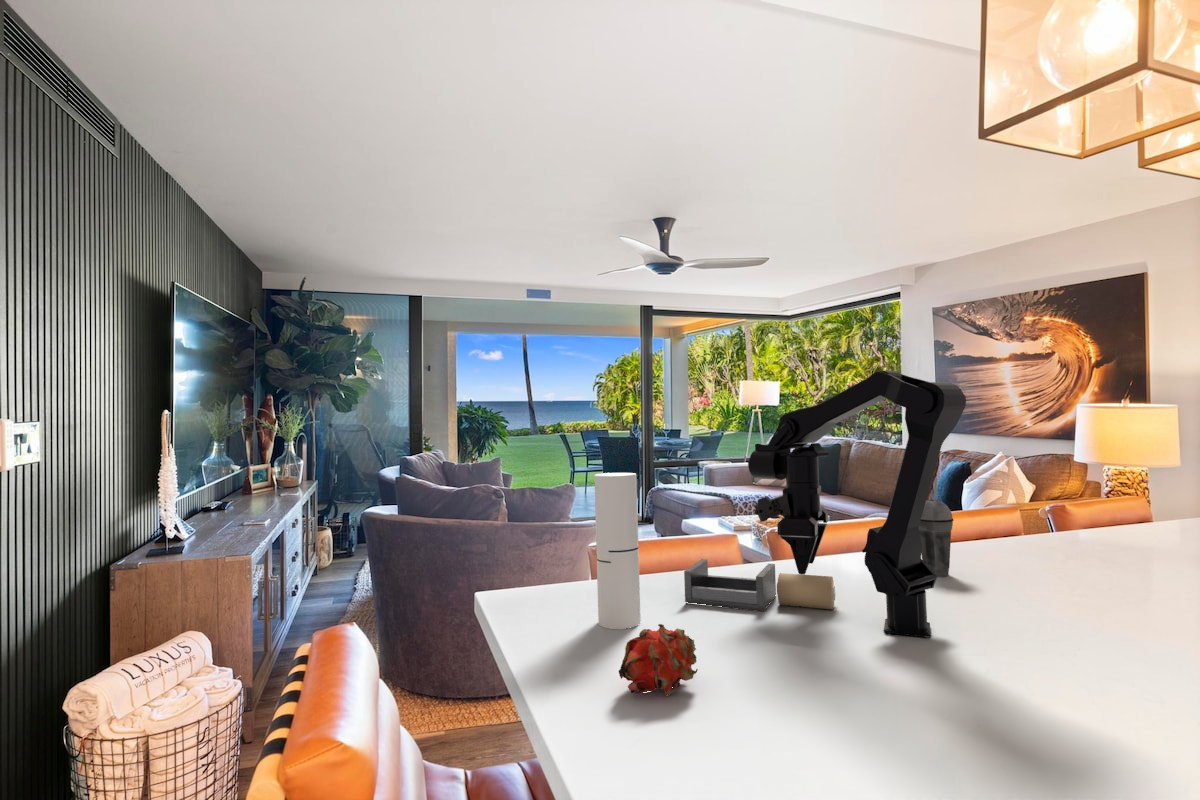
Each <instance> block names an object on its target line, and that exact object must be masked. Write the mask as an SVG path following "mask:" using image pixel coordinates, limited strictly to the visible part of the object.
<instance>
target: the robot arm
mask: <svg viewBox="0 0 1200 800" xmlns="http://www.w3.org/2000/svg"><path fill="white" fill-rule="evenodd" d="M966 398H967V397H966V395H965V394H964V392H963V390H962V389H961V388H960V387H959V386H958V385H957V384H954V383H952V382H942V381H941V382H939V381H938V382H937V381H934V382H932V381H928V380H923V379H920V378H917V377H912V376H909V375H905V374H904V373H900V372H899V371H896V370H883V369H882V370H877V371H875V372H873V373H872V374H871V375H870V376H868V377H867V378H865V379H863V380H861V381H859V382H857V383H855V384H854V385H852V386H849V387H847V388H846V389H845V390H843V391H840V392H838V393H836V394H835V395H833V396H831V397H830V398H828V399H826V400H824V401H822V402H820V403H818V404H815V405H812V406H807V407H803V408H799V409H795V410H791V411H788V412H786V413H784V414H782V415H781V416H780V418H779V422H778V426H777V428H775V429H776V430H775V431H774V434H772V436H771V439H770V440H769V442H768V443H763V442H762V443H755V445H754V450H753V451H752V452H751V454H750V456H749V459H748V462H747V466H748V470H749V473H750V475H751V476H752V477H753V478H754V479H757V480H758V479H761V480H762V479H763V480H775V481H778V480H779V481H783V480H785V482H786V483H785V487H784V488H783V489H782V494H781V495H779V496H776V497H773V498H770V497H769V496H767V495H766V496H765V497H762V498H758V499H757V504H756V505H754V509H755V511H754V514H755V515H756V516H757V517H758V519H759V521H760V523H764V522H766V521H768V519H772V518H775V517H778V516H780V515H782V517H783V518H781V519H780V521H779V522H777V525H776V527H777V530H776V531H777V535H778V536H779V538H780V539H782V540H784V541H785V542H786V543H787V544H788V545H789V546H790V549H791V552H792V555H793V559H794V562H795V566H796V568H797V572H798V573H797V574H802V575H806V573H807V570H808V567H809V564H813V563H814V562H815V558H816V556H817V554H818V551H819V548H820V544H821V543H822V539H823V536H824V534H825V531H826V529H827V527H828V522H829V511H828V510H827V508H825V507H824V506H821V499H820V498H821V497H820V493H821V492H822V485H820V475H819V474H820V473H819V471H820V469H819V457H829V455H830V453H829V451H828V450H826V449H825V448H824V447H822V445H821V444H820V443H819V442H818V441H819V440H821V438H823V437H824V436H826V435H827V434H828V433H830V431H831V430H832V429H833V427H834V426H835V425H837V424H838V423H840V422H842V421H844V420H846V419H847V418H848V419H849V418H850V417H851V416H854V415H855V414H857V413H860V412H862V411H864V410H865V409H867V408H870V407H871V406H874V405H876V404H878V403H880V402H881V401H883V400H885V399H887V400H889V401H890V402H892V403H893V404H896V405H898V406H901V407H903V408H904V409H905V412H904V413H905V414H904V415H905V416H904V421H905V425H906V428H907V429H906V430H907V435H908V439H907V441H906V442H907V443H906V446H905V450H904V453H903V457H902V460H901V465H900V469H899V471H898V475H897V479H896V483H895V486H894V490H893V494H892V497H891V501H890V506H889V509H888V513H887V516H886V520H885V522H884V523H883V525H882V526H877V527H873V528H872V527H871V528H869V529H868V530H867V531H868V532H867V535H866V536H867V537H866V542H865V543H866V544H865V546H864V547H863V548H862V550H861V552H862V554H863V553H864V554H865V555H864V560H863V561H864V566H865V567H866V568H867V570H868V572H869V574H870V576H871V578H872V581H873V583H874V586H875V589H876V592H878V593H882V594H884V595H885V602H886V618H885V619H884V626H883V633H884V634H885V633H886V634H891V635H892V634H893V635H903V636H904V635H905V636H915V637H923V638H931V636H932V635H931V623H930V622H928V614H927V613H928V612H927V610H928V609H927V591H926V590H929V589H933V588H934V587H935V585H936V582H937V578H938V577H937V576H936V575H935V574H934V572H933V571H932V570H931V569H930V568H929V567H928V566H927V565H926V564H925V562H924V561H923V560H922V554H921V551H922V543H921V538H920V534H919V524H920V521H921V517H922V514H923V510H924V506H925V503H926V501H927V498H928V495H929V492H930V488H931V485H932V481H933V478H934V473H935V471H936V467H937V463H938V460H939V456H940V453H941V449H942V445H943V444H944V442H945V441H946V439H948V437H949V436H950V434H951V433H952V432H953V430H954V429H955V428H956V427H957V425H958V423H959V421H960V419H961V417H962V415H963V413H964V411H965V408H966V406H967V399H966ZM808 444H809V446H807V445H808ZM792 449H793V450H792ZM791 450H792V451H791ZM820 521H821V522H823V523H821V522H820Z"/></svg>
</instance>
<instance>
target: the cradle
mask: <svg viewBox="0 0 1200 800" xmlns="http://www.w3.org/2000/svg"><path fill="white" fill-rule="evenodd" d="M708 567H709V565H708V559H704V558H703V559H702V558H701V559H700V560H698V561H697V562H695V563H694V564H693V565H691V566H690V567H688V568H687V569H685V570H684V572H683V574H684V602H688V603H697V604H706V605H712V606H722V607H729V608H728V609H733V608H738V609H737V610H743V609H748V610H747V611H753V610H758V611H757V612H765V611H766V610H765V609H767V608H768V607H769V606H770V604H771V603H772V602H773V601H774V599H775V598H776V597H775V595H776V596H777V583H776V582H777V581H776V563H768V564H766V565H765V566H764V568H762V570H760V572H759V573H758V574H757V575H756V576H755V578H751V577H737V576H736V577H735V576H725V575H724V576H723V575H721V576H720V575H713V574H712V575H709V568H708ZM774 597H775V598H774ZM773 598H774V599H773ZM772 600H773V601H772ZM771 601H772V602H771ZM770 602H771V603H770ZM769 603H770V604H769ZM768 605H769V606H768ZM712 606H711V607H712ZM767 606H768V607H767ZM722 607H721V608H722ZM766 607H767V608H766ZM764 610H765V611H764Z"/></svg>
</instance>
